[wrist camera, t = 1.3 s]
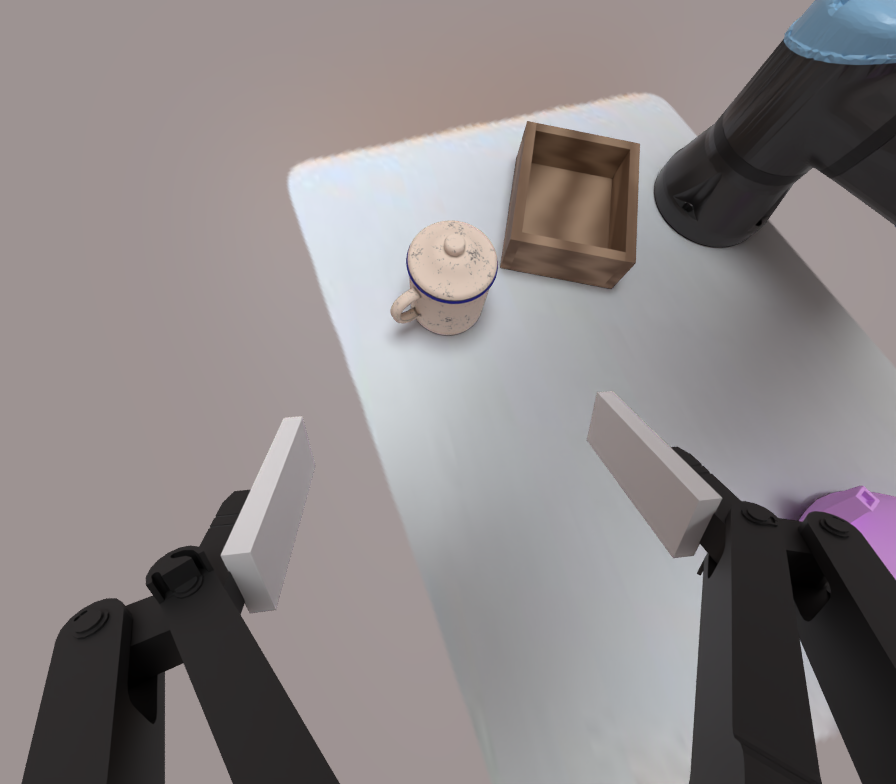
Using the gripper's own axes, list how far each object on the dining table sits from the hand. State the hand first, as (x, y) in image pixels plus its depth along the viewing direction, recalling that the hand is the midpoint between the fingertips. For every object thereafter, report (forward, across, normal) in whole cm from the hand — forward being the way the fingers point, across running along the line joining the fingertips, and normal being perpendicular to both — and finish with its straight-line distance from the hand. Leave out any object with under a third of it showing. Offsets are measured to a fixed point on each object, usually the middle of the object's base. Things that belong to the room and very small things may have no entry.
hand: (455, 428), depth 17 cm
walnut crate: (+38, +20, +4) cm, 43 cm away
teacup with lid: (+30, +2, -4) cm, 30 cm away
